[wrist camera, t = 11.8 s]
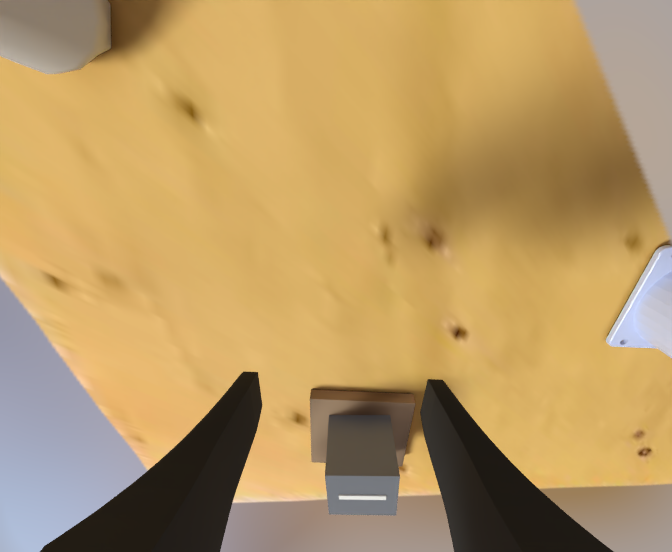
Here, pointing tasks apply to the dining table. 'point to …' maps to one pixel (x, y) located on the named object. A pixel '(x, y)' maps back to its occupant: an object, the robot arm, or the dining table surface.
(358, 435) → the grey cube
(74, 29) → the salt shaker
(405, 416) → the base
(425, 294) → the dining table surface
